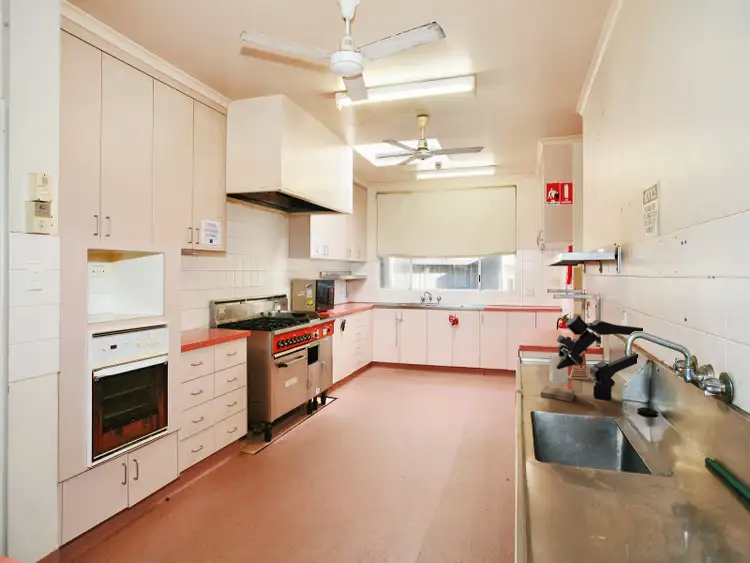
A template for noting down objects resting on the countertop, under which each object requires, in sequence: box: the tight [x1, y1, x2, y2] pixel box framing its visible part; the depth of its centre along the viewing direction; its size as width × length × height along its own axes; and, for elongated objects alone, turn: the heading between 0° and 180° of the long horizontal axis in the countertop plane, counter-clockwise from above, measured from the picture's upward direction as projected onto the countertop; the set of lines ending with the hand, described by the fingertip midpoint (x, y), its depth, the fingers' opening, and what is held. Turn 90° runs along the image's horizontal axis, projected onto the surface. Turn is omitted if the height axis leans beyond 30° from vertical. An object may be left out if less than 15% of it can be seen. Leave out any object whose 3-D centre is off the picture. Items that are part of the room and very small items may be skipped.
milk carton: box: [568, 351, 589, 380], centre depth 228 cm, size 9×9×20 cm
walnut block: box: [540, 385, 576, 402], centre depth 192 cm, size 12×12×2 cm
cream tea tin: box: [548, 355, 569, 385], centre depth 192 cm, size 6×6×11 cm
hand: (555, 366), depth 192 cm, fingers closed on cream tea tin, 6 cm apart
